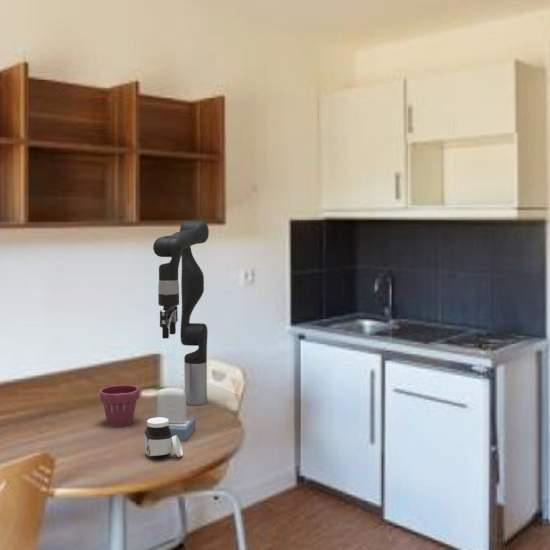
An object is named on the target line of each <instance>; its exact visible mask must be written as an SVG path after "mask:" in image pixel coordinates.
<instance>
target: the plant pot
mask: <svg viewBox="0 0 550 550" xmlns="http://www.w3.org/2000/svg"><path fill="white" fill-rule="evenodd" d="M139 399H140V389H139V387H137V386H136V385H131V384H130V385H129V384H115V385H110V386H106V387H103V388H101V389H100V390H99V401H100V402H102V405H103V409H104V413H105V418H106V421H107V425H109V426H111V427H123V426H129V425H131V424H132V423H133V422H134V416H135V410H136V406H137V401H138V400H139Z"/></svg>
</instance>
